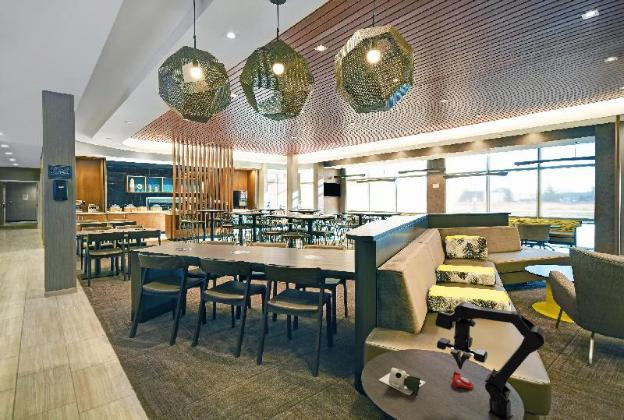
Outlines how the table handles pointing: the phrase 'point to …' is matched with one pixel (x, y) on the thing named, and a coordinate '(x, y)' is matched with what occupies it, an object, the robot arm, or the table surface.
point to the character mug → (404, 380)
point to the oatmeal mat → (404, 390)
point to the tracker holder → (461, 381)
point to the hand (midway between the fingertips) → (460, 368)
